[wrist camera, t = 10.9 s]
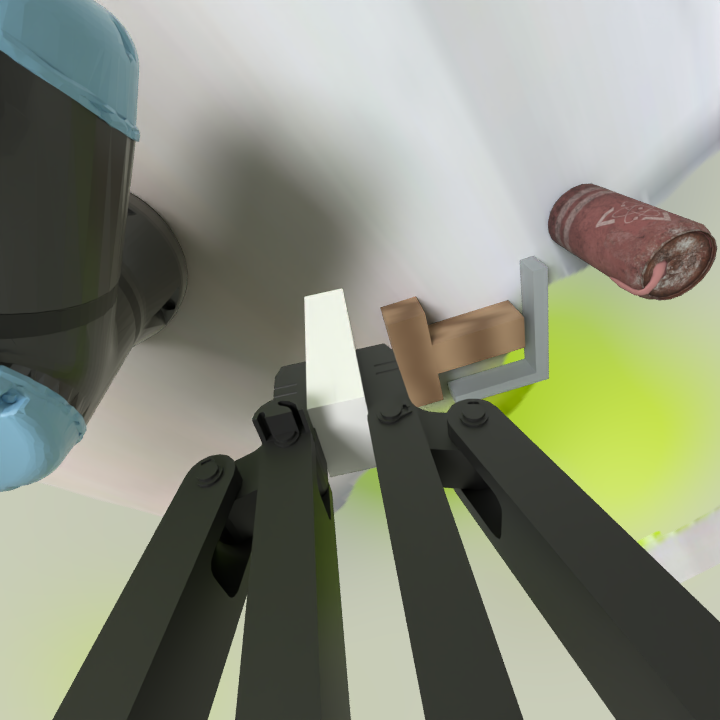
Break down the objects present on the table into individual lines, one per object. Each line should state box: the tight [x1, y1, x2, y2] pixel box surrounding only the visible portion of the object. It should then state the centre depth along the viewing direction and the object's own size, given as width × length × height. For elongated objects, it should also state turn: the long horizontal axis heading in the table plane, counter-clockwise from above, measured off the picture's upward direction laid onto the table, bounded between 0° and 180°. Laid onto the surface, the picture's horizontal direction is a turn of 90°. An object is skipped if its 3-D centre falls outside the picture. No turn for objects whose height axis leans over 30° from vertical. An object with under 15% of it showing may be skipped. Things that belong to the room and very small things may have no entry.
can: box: [548, 184, 717, 300], centre depth 36 cm, size 6×6×14 cm
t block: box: [381, 297, 525, 407], centre depth 46 cm, size 14×12×4 cm
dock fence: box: [448, 256, 549, 403], centre depth 47 cm, size 12×15×3 cm
